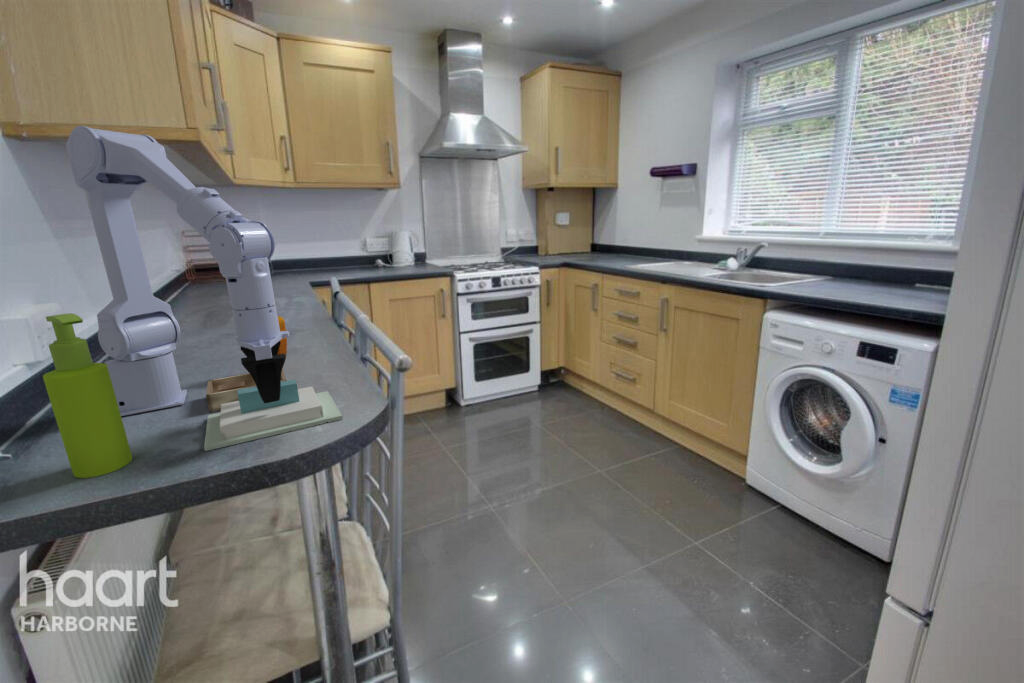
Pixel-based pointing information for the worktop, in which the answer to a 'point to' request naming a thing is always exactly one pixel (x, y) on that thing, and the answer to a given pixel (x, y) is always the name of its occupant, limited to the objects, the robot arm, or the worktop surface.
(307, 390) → the lid
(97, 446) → the soap dispenser
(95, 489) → the worktop surface
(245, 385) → the storage box
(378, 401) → the worktop surface
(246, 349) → the robot arm
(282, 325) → the carrot
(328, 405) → the mat
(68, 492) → the worktop surface
